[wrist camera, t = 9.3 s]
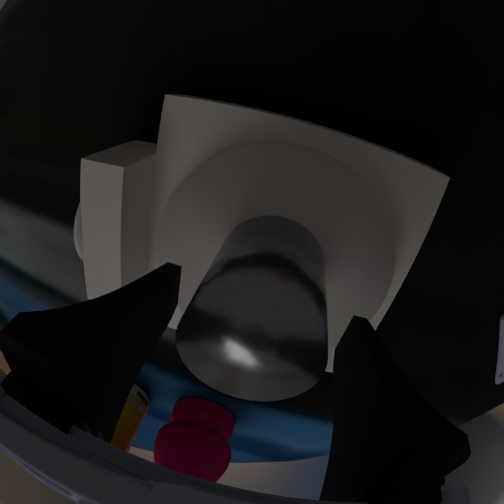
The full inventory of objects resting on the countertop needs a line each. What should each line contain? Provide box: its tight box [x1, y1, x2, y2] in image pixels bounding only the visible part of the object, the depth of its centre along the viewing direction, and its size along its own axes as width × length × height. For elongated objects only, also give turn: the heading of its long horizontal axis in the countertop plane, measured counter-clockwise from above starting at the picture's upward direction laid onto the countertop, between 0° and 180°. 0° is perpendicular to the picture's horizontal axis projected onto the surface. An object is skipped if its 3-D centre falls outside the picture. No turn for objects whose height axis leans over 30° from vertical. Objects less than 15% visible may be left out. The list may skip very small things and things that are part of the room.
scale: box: [74, 94, 450, 373], centre depth 15 cm, size 17×14×5 cm
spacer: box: [176, 215, 328, 401], centre depth 12 cm, size 5×5×6 cm
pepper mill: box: [154, 397, 235, 483], centre depth 19 cm, size 7×7×20 cm
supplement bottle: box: [110, 383, 150, 452], centre depth 24 cm, size 6×6×10 cm
